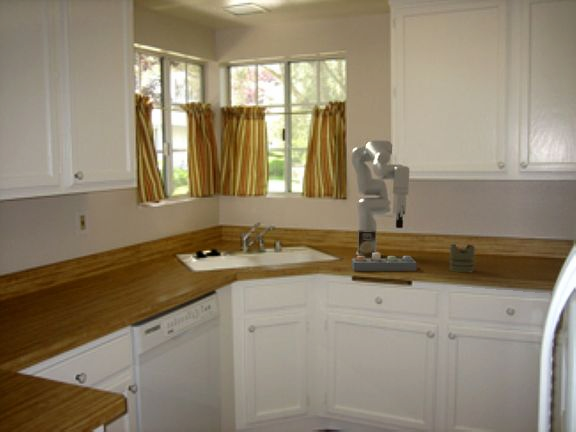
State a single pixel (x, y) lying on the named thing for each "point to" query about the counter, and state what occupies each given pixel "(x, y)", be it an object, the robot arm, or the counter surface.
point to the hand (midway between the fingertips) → (399, 227)
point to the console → (384, 265)
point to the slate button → (406, 258)
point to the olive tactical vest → (462, 258)
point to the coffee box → (366, 243)
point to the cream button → (376, 256)
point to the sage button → (391, 258)
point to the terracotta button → (360, 258)
